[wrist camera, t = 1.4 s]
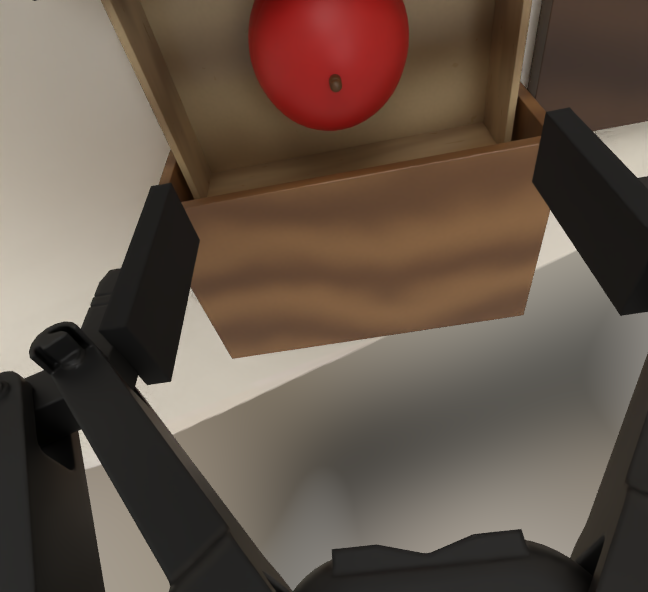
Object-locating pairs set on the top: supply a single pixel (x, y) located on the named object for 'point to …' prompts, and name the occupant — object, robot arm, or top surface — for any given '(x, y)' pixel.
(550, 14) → the board
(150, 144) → the top surface
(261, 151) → the drawer
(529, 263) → the cabinet
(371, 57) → the apple
